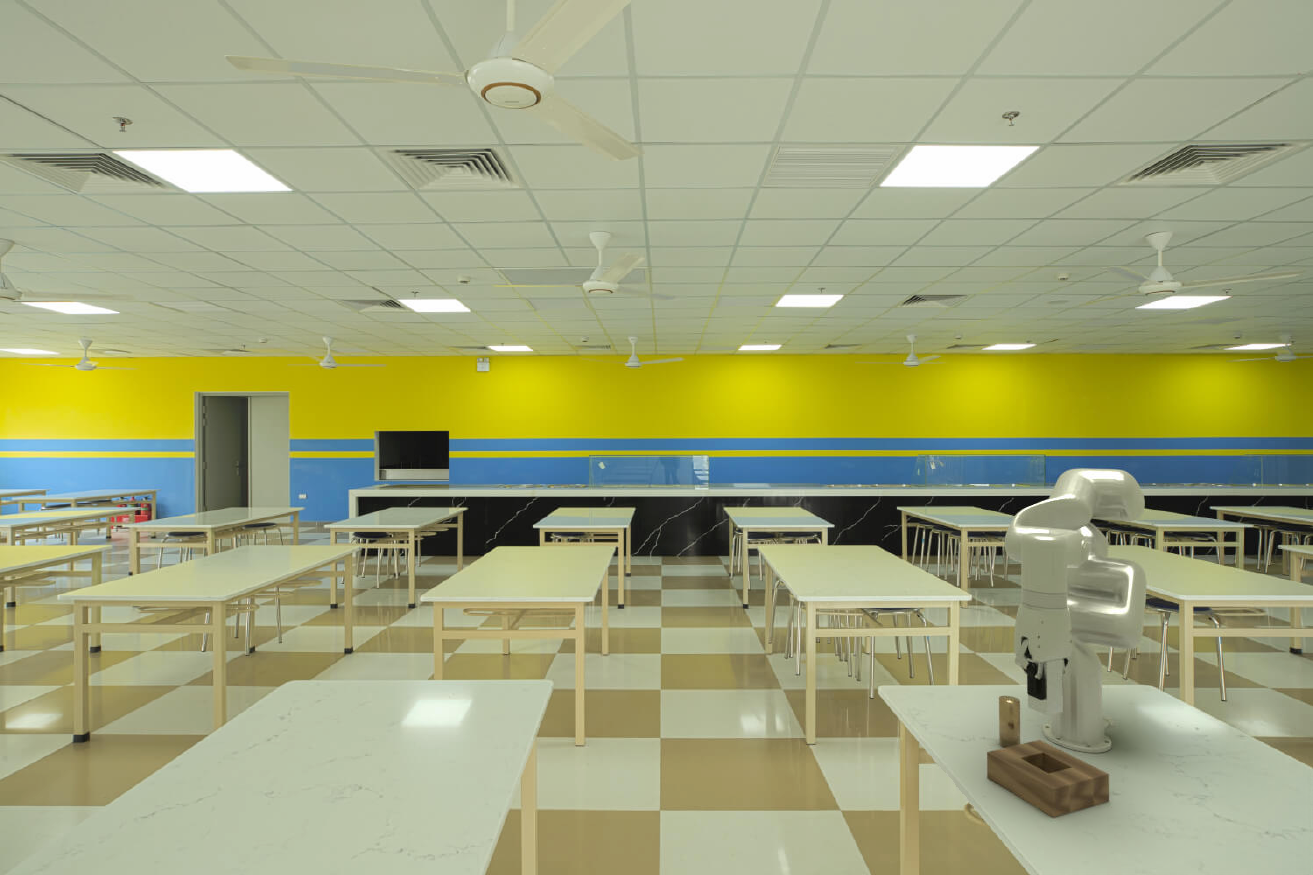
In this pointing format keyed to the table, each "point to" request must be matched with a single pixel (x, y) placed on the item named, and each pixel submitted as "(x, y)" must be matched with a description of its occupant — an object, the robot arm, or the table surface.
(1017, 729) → the round peg
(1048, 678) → the square peg
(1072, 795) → the socket block
